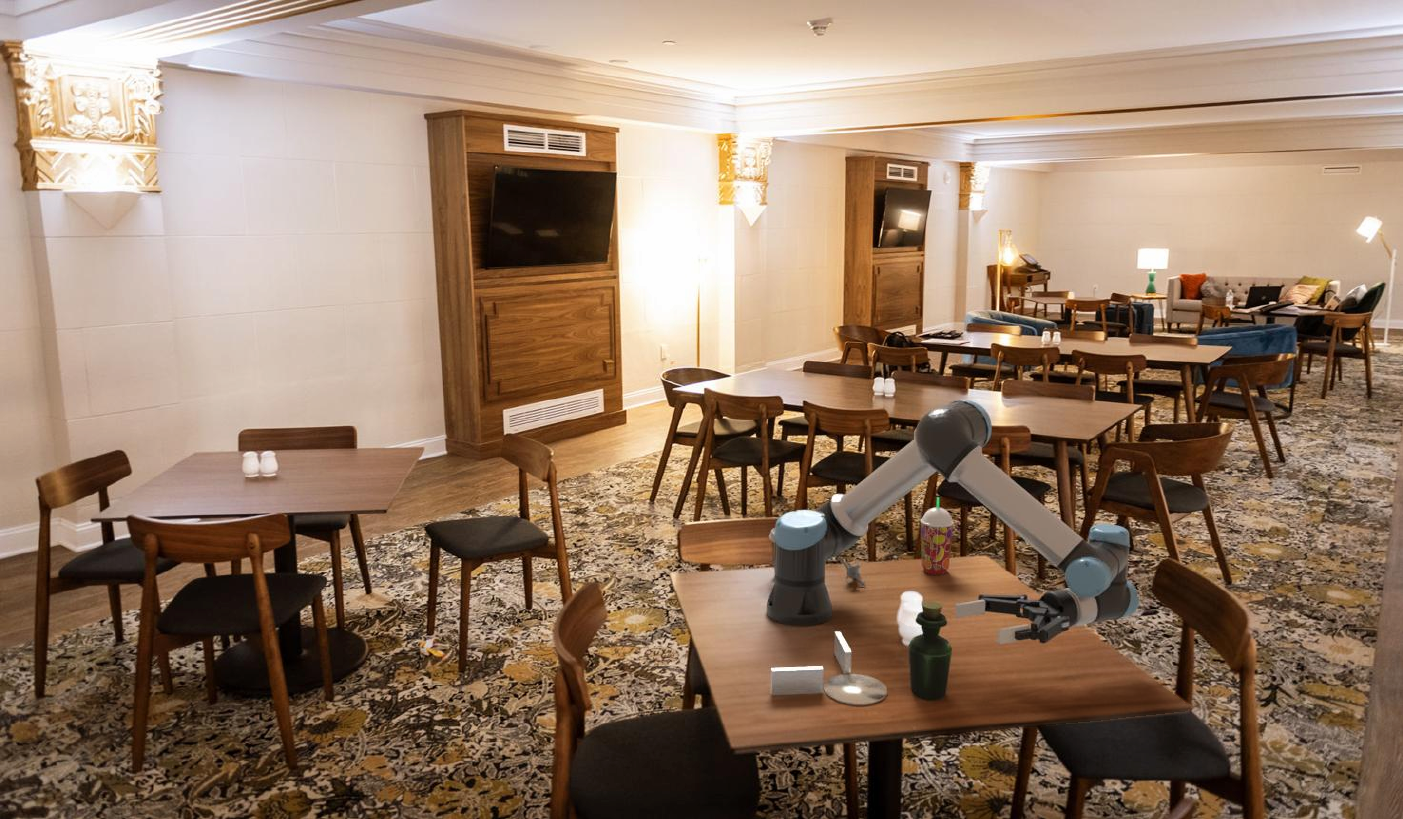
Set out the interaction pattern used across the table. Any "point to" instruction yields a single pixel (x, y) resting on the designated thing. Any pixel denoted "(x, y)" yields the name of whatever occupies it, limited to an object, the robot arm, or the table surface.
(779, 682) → the shiny disc with plates
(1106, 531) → the robot arm
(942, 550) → the smoothie
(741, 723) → the table surface
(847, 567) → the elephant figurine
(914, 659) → the potion bottle
